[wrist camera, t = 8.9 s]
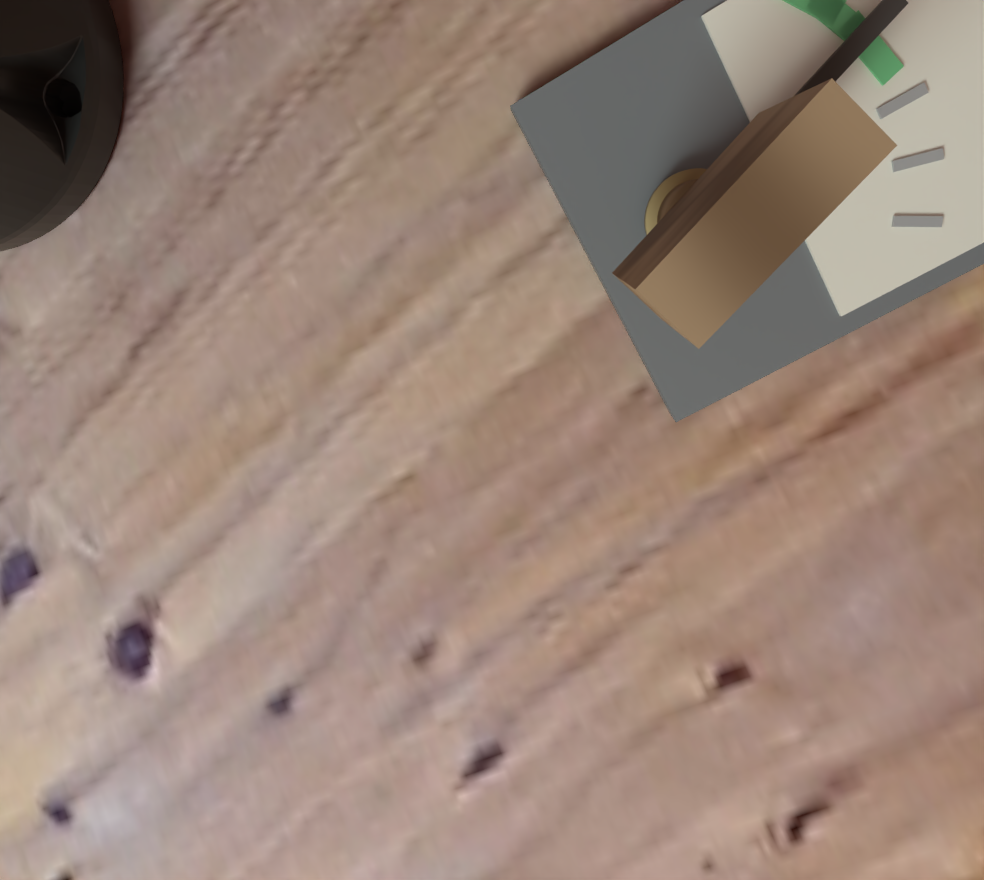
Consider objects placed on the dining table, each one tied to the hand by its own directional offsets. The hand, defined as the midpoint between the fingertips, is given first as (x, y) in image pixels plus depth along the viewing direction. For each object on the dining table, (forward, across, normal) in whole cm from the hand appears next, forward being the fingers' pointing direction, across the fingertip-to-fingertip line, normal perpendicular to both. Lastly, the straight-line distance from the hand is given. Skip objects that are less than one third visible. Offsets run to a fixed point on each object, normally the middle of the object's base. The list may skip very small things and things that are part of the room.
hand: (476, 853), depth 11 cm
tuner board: (+26, +9, +12) cm, 30 cm away
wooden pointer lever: (+24, +7, +12) cm, 27 cm away
